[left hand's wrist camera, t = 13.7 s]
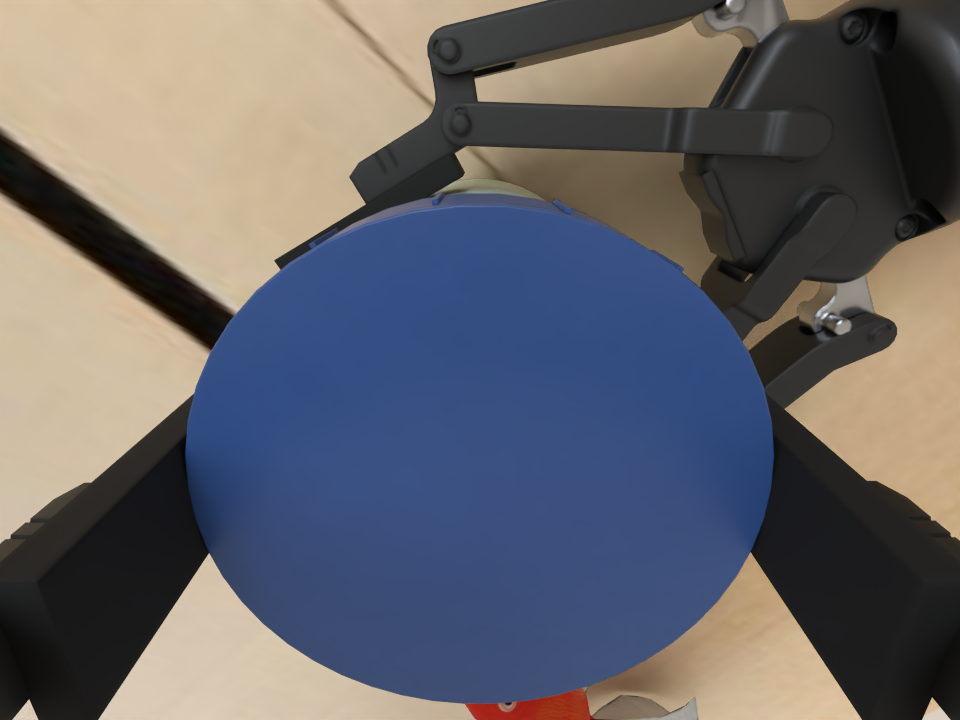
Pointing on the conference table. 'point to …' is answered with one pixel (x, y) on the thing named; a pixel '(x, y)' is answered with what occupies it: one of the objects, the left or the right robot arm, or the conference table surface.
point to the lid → (479, 451)
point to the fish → (581, 709)
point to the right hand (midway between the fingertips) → (382, 389)
